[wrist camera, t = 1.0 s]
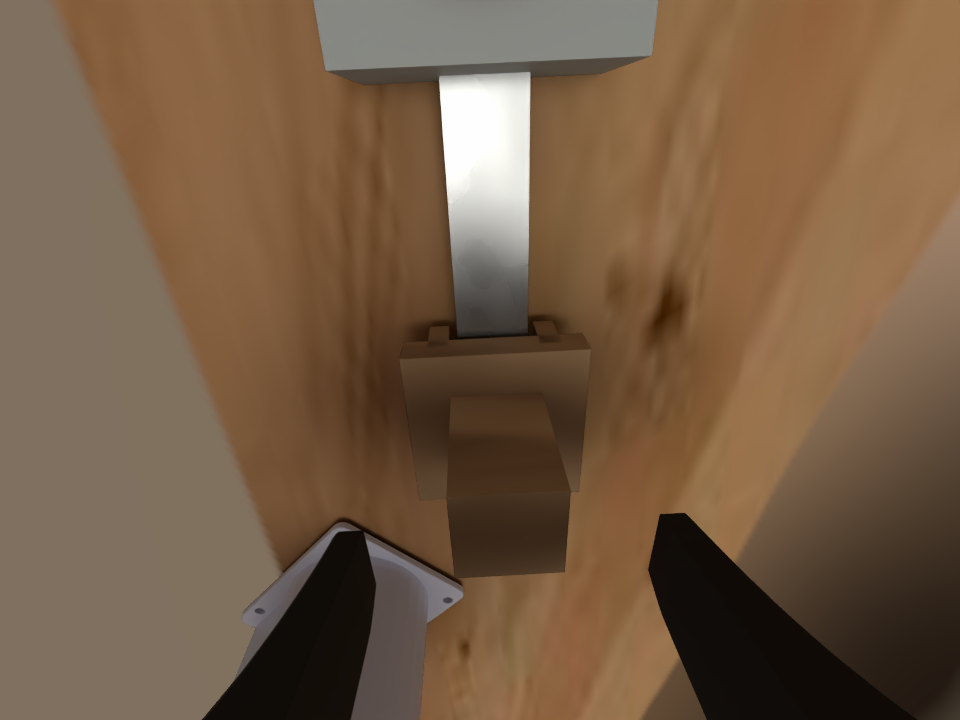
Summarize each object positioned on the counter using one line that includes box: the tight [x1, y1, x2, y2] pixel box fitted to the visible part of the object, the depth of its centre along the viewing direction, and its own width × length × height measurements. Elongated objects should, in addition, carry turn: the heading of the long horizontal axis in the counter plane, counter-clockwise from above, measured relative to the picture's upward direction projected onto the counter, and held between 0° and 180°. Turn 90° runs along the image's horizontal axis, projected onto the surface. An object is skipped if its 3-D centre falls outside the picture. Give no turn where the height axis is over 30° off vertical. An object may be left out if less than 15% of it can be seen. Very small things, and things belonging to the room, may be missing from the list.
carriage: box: [399, 321, 591, 578], centre depth 14 cm, size 6×6×7 cm
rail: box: [439, 72, 530, 340], centre depth 16 cm, size 16×4×2 cm, turn 2°
